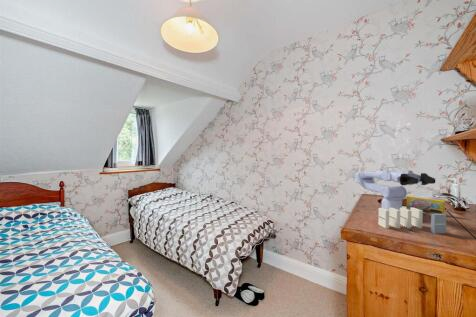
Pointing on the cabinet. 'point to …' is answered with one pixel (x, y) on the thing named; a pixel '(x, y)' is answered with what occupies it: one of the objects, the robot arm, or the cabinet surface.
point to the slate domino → (438, 223)
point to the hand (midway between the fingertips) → (425, 181)
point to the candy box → (426, 205)
